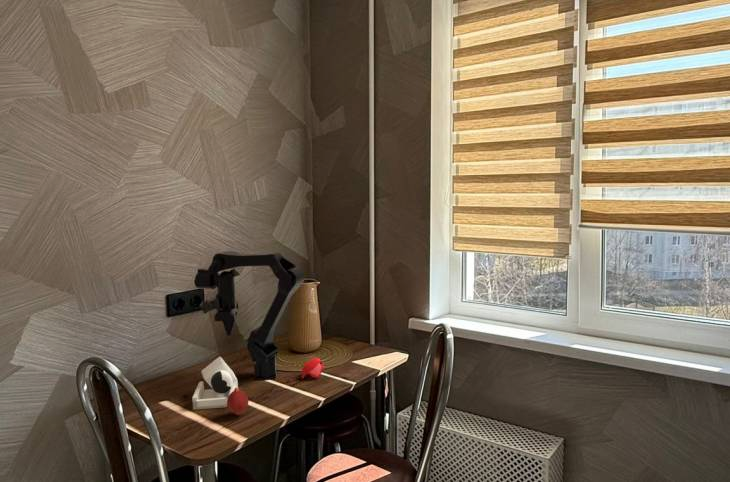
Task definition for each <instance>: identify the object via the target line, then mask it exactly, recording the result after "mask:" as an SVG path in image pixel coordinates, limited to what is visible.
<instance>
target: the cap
mask: <svg viewBox="0 0 730 482" xmlns="http://www.w3.org/2000/svg"><path fill="white" fill-rule="evenodd" d="M323 370H324V363H323V361H322V360H321V359H320V358H318V357H314V358H311V359H309V360H308V361H307V362H305V364H304V365H303V366H302V369H301V373H302V375H301V379H304V378H305V377H306V375H310V376H311V377H313V378H315V379H317V380H318V379H319V378H320V376H321V374H322V372H323Z"/></svg>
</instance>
